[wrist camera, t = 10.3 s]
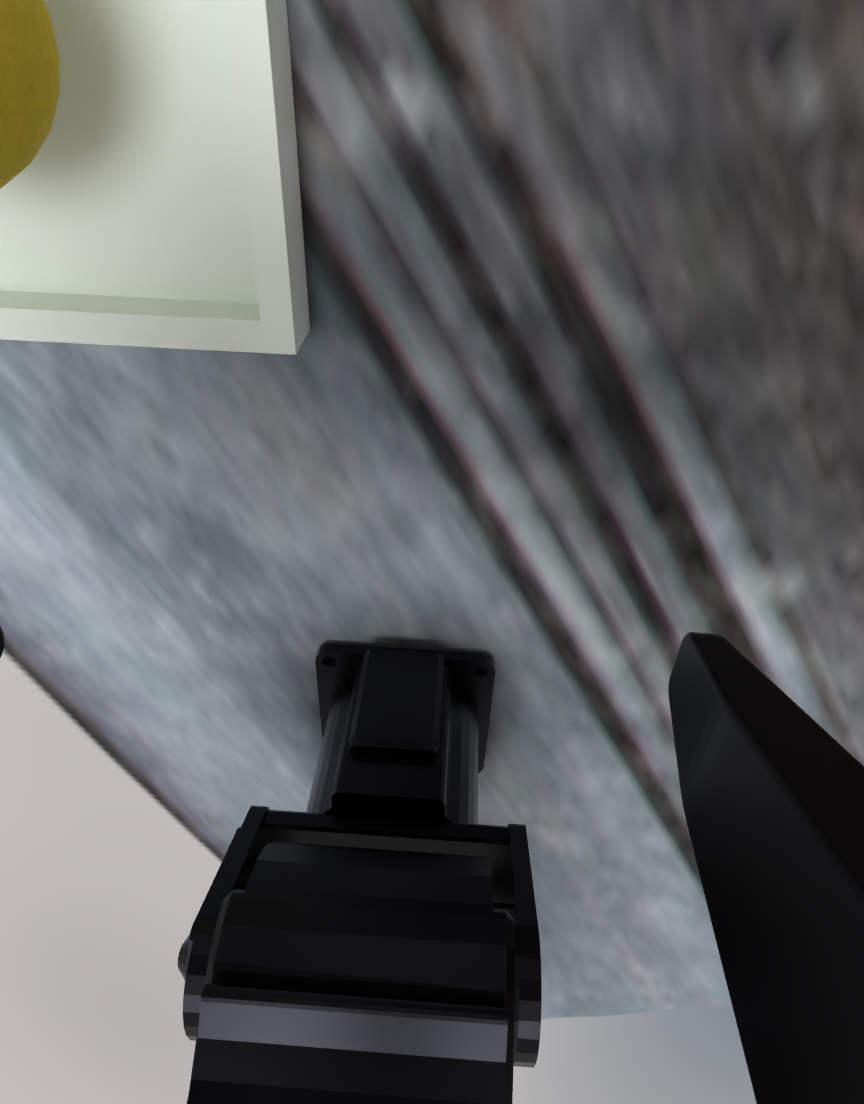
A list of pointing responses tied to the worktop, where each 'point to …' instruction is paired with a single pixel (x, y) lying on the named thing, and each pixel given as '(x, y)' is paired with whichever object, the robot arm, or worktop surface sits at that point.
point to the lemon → (26, 83)
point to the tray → (162, 184)
